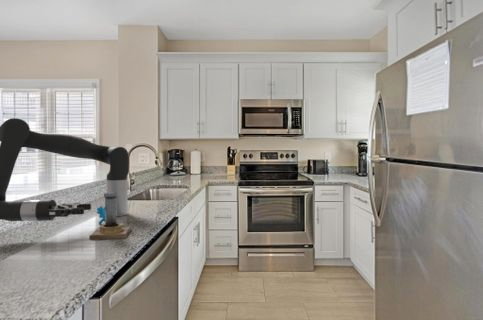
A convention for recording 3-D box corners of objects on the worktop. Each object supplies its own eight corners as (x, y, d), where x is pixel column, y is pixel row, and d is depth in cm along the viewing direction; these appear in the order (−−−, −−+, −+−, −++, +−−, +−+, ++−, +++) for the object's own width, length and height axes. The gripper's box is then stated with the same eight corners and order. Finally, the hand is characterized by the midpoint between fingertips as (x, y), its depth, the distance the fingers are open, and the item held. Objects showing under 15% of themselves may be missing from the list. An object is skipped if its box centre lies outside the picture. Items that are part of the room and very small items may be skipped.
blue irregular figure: (108, 223, 127) (94, 205, 130) (98, 233, 128) (84, 215, 130) (123, 221, 138) (110, 204, 140) (114, 230, 139) (101, 213, 141)
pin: (105, 229, 119) (105, 192, 118) (119, 228, 120) (118, 192, 119) (102, 232, 114) (102, 194, 114) (116, 231, 115) (116, 194, 114)
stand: (98, 231, 122) (98, 222, 122) (130, 229, 124) (130, 220, 124) (89, 239, 110) (89, 230, 110) (125, 238, 112) (125, 228, 112)
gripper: (29, 203, 105) (81, 201, 108) (47, 197, 119) (92, 195, 122) (29, 225, 105) (81, 223, 108) (47, 216, 119) (93, 214, 122)
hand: (87, 208), depth 115 cm, fingers open, 8 cm apart
